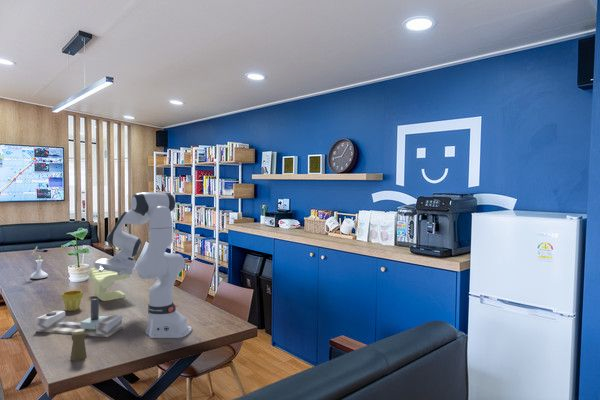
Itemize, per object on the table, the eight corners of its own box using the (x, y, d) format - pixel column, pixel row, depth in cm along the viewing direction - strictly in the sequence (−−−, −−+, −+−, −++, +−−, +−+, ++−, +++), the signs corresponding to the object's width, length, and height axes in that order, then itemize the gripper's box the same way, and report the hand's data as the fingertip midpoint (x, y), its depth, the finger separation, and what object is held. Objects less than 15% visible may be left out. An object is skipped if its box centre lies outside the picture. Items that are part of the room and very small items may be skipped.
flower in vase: (35, 276, 299) (35, 244, 298) (51, 276, 300) (51, 244, 300) (25, 280, 286) (25, 247, 285) (41, 280, 287) (41, 247, 287)
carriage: (108, 325, 198) (108, 297, 197) (95, 332, 188) (95, 302, 188) (93, 323, 199) (94, 296, 198) (80, 331, 189) (80, 301, 188)
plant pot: (57, 310, 223) (57, 293, 222) (74, 305, 232) (74, 289, 232) (70, 312, 219) (70, 295, 218) (86, 307, 228) (86, 291, 228)
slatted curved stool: (89, 294, 256) (89, 267, 255) (114, 290, 267) (114, 264, 266) (103, 305, 234) (103, 276, 234) (130, 300, 245) (130, 272, 244)
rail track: (121, 328, 198) (122, 314, 198) (107, 337, 186) (107, 322, 186) (54, 322, 203) (54, 309, 203) (36, 331, 191) (36, 316, 191)
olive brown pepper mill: (73, 362, 159) (73, 336, 159) (68, 357, 163) (68, 332, 163) (88, 357, 164) (88, 332, 164) (83, 353, 168) (83, 328, 168)
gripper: (101, 253, 214) (89, 263, 201) (138, 260, 217) (129, 270, 203) (99, 263, 216) (88, 274, 202) (137, 270, 218) (128, 281, 205)
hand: (109, 272), depth 203 cm, fingers open, 8 cm apart
